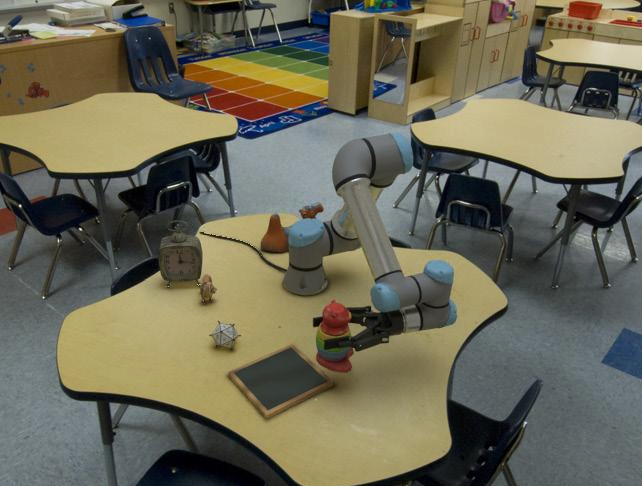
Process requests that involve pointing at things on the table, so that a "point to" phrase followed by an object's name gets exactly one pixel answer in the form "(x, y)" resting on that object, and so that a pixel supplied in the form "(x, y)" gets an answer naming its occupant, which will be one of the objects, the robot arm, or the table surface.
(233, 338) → the game die
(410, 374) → the table surface
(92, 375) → the table surface
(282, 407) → the chalkboard
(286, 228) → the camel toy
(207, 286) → the lion figurine
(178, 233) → the tabletop clock
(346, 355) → the stacking bear
